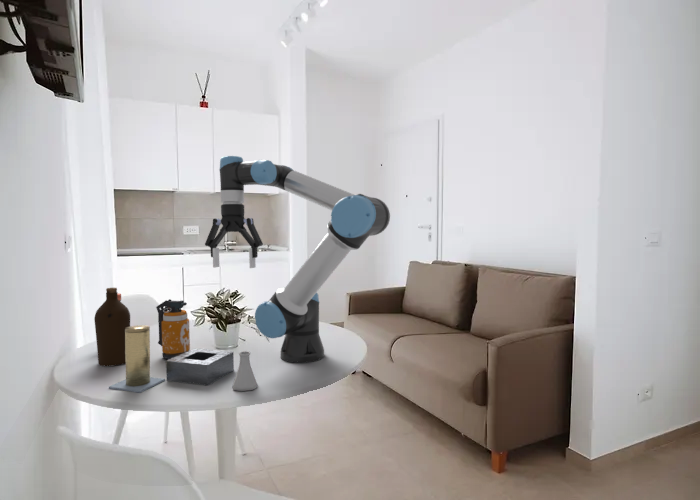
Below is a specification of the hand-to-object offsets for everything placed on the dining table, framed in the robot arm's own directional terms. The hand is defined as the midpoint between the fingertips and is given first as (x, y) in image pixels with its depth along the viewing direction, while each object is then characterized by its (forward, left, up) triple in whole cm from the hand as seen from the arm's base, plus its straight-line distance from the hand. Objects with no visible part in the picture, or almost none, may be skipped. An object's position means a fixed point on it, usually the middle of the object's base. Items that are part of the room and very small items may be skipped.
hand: (234, 267), depth 154 cm
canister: (+23, +3, -32) cm, 39 cm away
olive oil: (+38, +14, -32) cm, 51 cm away
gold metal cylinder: (+15, +28, -31) cm, 45 cm away
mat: (+15, +29, -32) cm, 45 cm away
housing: (+2, +17, -32) cm, 36 cm away
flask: (-16, +22, -32) cm, 42 cm away
